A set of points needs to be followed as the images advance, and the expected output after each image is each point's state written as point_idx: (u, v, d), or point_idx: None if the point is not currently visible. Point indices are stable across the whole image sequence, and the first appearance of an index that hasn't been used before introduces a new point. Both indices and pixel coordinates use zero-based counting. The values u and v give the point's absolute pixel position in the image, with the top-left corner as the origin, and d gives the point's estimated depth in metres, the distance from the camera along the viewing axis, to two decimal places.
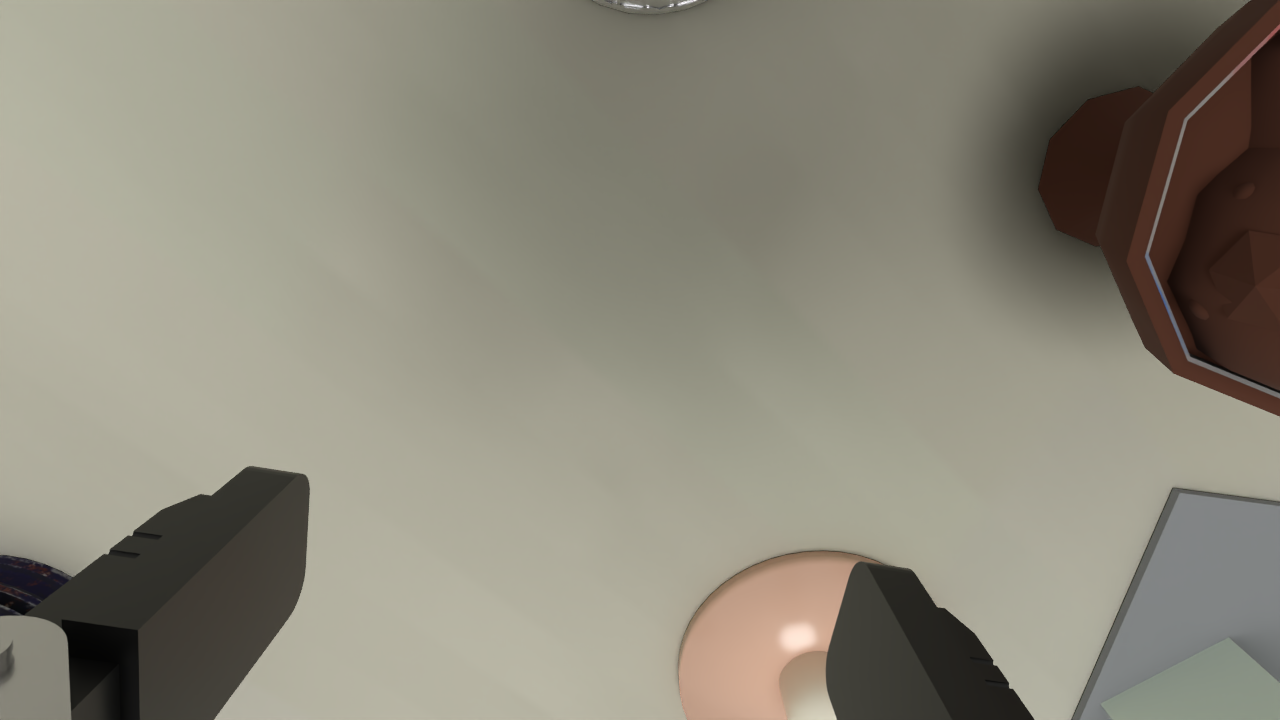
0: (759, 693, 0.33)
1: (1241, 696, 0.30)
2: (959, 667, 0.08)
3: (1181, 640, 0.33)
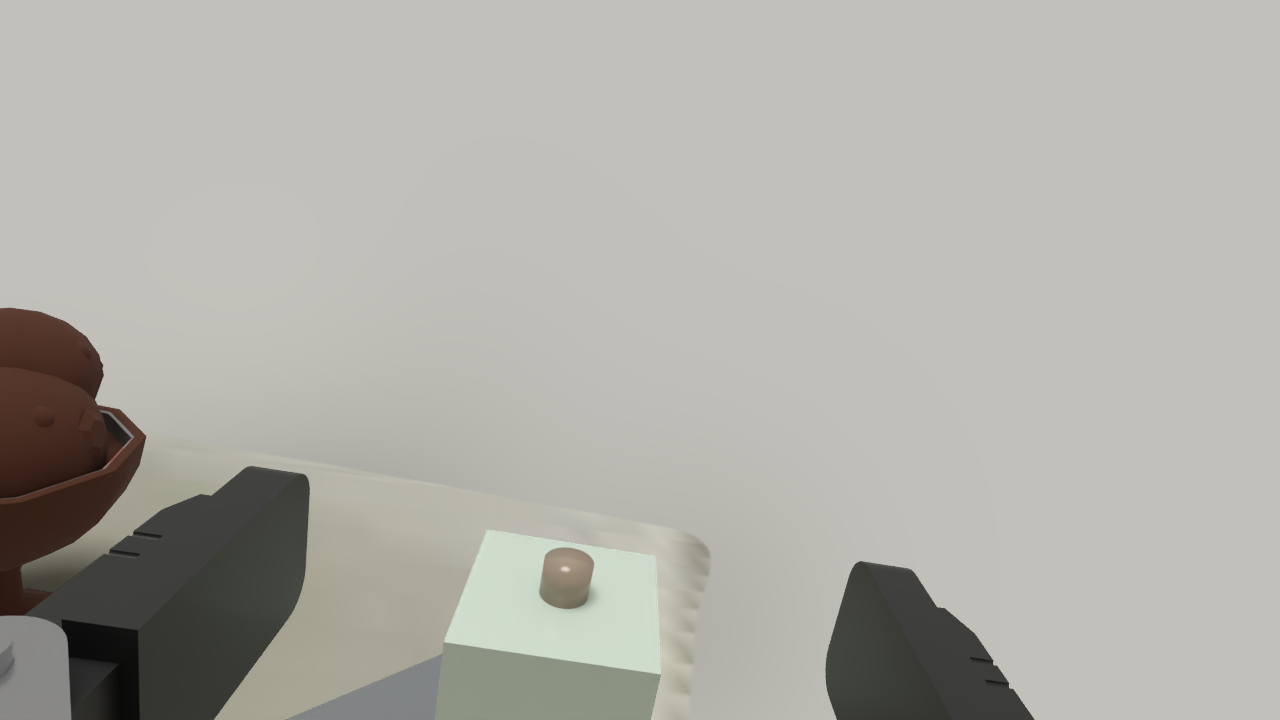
0: None
1: None
2: (959, 667, 0.08)
3: None
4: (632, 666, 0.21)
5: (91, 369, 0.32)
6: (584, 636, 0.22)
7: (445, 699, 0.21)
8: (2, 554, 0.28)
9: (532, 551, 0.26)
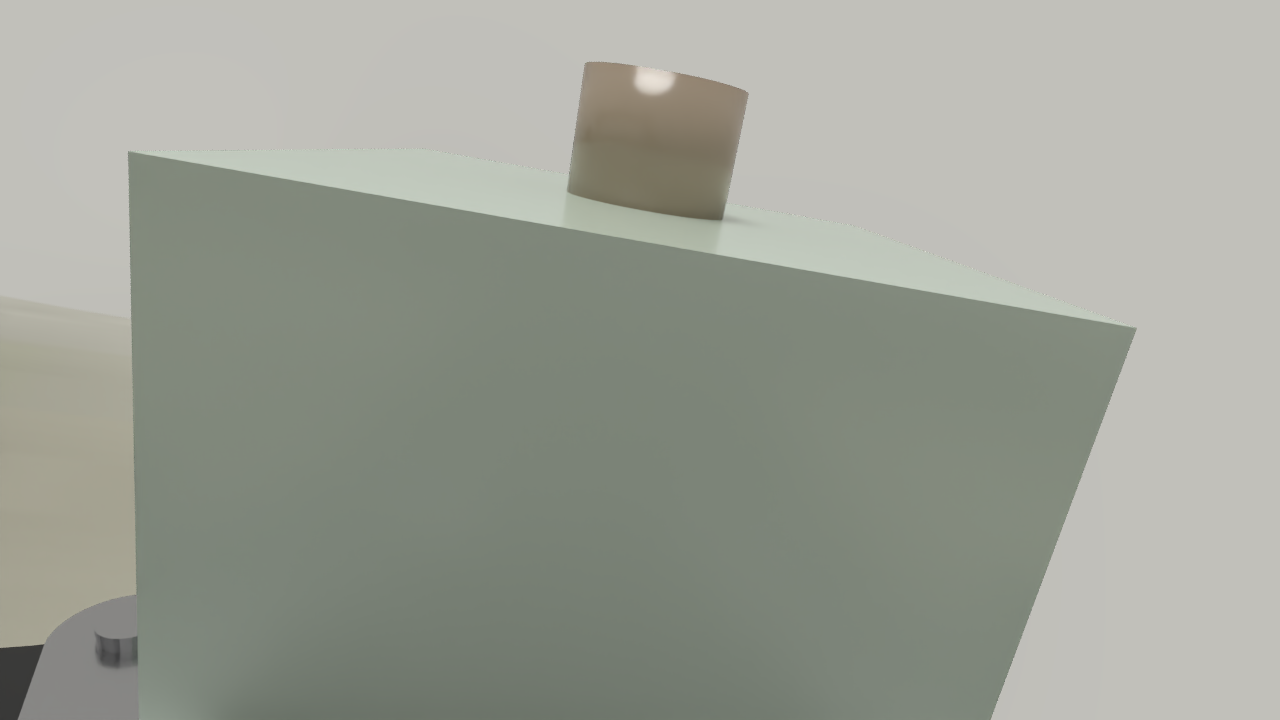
0: None
1: None
2: None
3: None
4: (996, 303, 0.05)
5: None
6: (751, 242, 0.06)
7: (173, 460, 0.05)
8: None
9: (542, 173, 0.09)
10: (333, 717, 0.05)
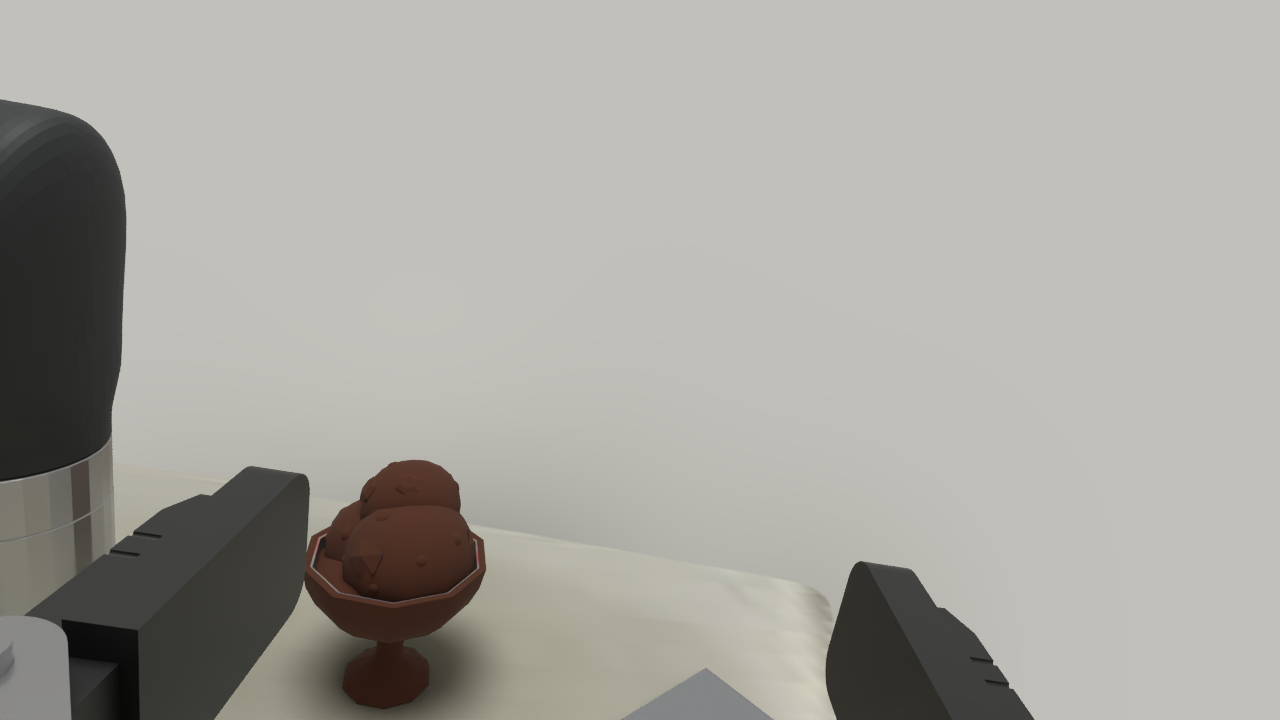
0: None
1: None
2: (959, 667, 0.08)
3: None
4: None
5: (459, 498, 0.47)
6: None
7: None
8: (432, 628, 0.44)
9: None
10: None
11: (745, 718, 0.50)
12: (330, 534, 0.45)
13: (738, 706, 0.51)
